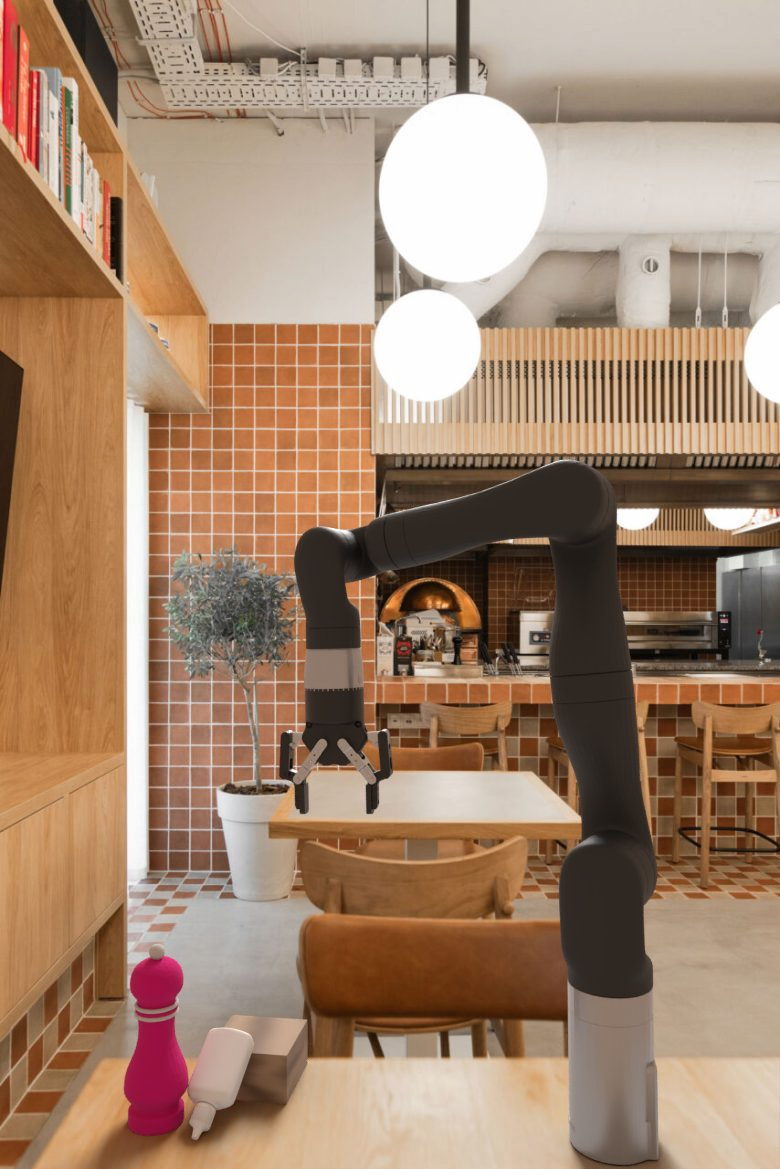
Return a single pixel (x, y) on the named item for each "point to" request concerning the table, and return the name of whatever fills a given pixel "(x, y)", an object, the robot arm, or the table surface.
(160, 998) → the pepper mill
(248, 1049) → the eye dropper bottle
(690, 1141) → the table surface
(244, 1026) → the walnut box
